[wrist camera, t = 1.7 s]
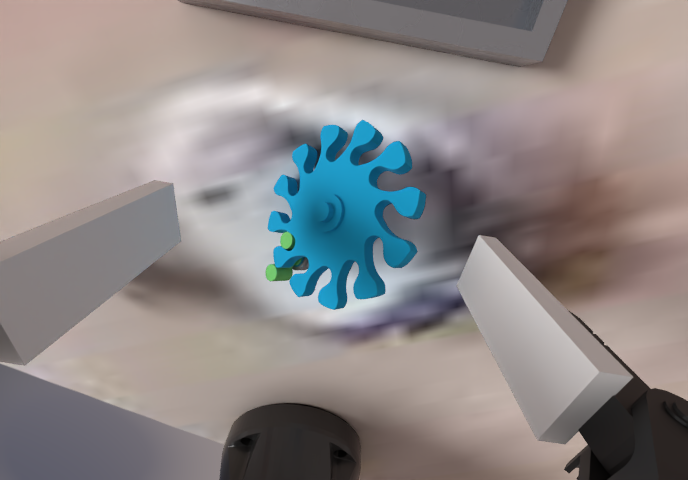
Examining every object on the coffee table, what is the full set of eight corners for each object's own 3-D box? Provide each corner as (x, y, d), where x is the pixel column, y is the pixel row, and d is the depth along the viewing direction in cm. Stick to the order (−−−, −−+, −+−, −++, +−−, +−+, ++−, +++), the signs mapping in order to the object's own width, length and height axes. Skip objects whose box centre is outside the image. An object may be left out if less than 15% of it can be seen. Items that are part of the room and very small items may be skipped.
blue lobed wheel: (351, 72, 14) (463, 239, 10) (400, 124, 18) (489, 249, 15) (235, 205, 19) (280, 349, 15) (298, 218, 23) (344, 330, 20)
